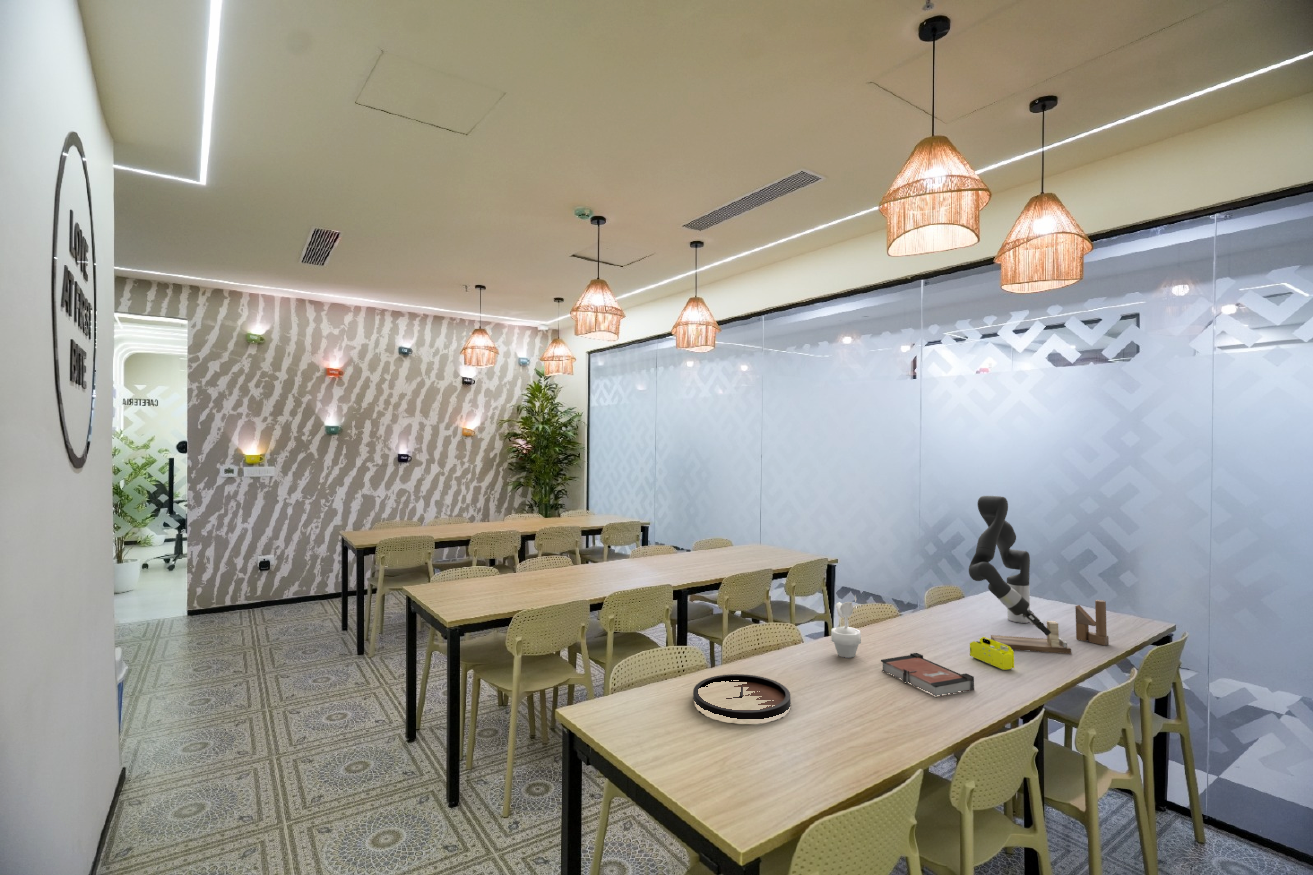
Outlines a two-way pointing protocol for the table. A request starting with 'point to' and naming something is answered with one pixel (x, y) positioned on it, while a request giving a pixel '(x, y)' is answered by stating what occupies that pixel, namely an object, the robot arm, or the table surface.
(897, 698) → the table surface
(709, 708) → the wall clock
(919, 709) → the table surface
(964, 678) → the book
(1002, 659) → the yellow toy chassis
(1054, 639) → the beige tall blocky piece
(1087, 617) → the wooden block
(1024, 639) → the walnut board
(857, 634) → the potted plant
